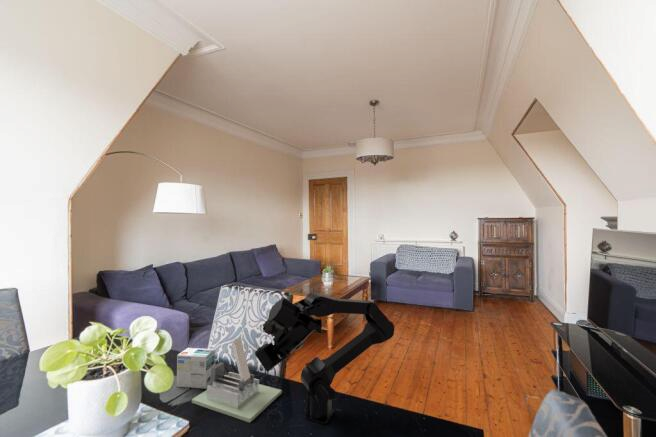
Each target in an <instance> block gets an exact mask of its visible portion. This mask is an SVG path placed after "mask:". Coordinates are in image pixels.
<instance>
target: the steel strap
mask: <svg viewBox="0 0 656 437" xmlns="http://www.w3.org/2000/svg"><path fill="white" fill-rule="evenodd" d="M243 345H244V344H243V342H242V337H237V338H234V339H233V340H232V341H231V346H232V351H233V354H234V359H235V362H236V366H237V370H238V374H239V375H240V379H241V381H244V387H245V386H247V385H248V384H250V383H251V382H252V379H251V377H250V374H251V373H250V369H249V366H248V361H247V357H246V352H245V349H244V346H243Z"/></svg>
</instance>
